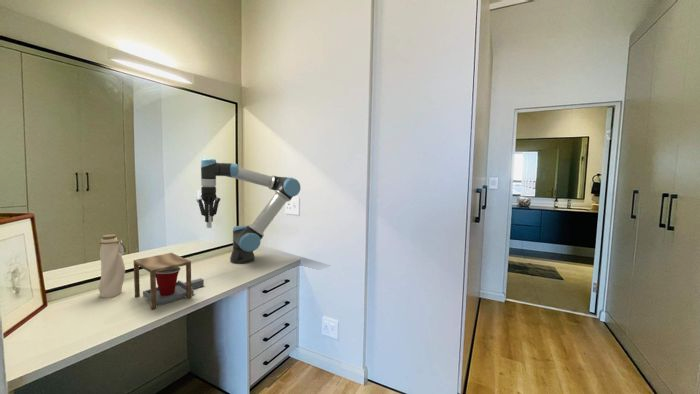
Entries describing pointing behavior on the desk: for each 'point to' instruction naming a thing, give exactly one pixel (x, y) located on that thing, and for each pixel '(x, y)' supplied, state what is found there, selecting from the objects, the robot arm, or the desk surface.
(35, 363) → the desk surface
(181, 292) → the tray
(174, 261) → the small wooden stool
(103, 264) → the water bottle
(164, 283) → the plastic cup
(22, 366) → the desk surface
